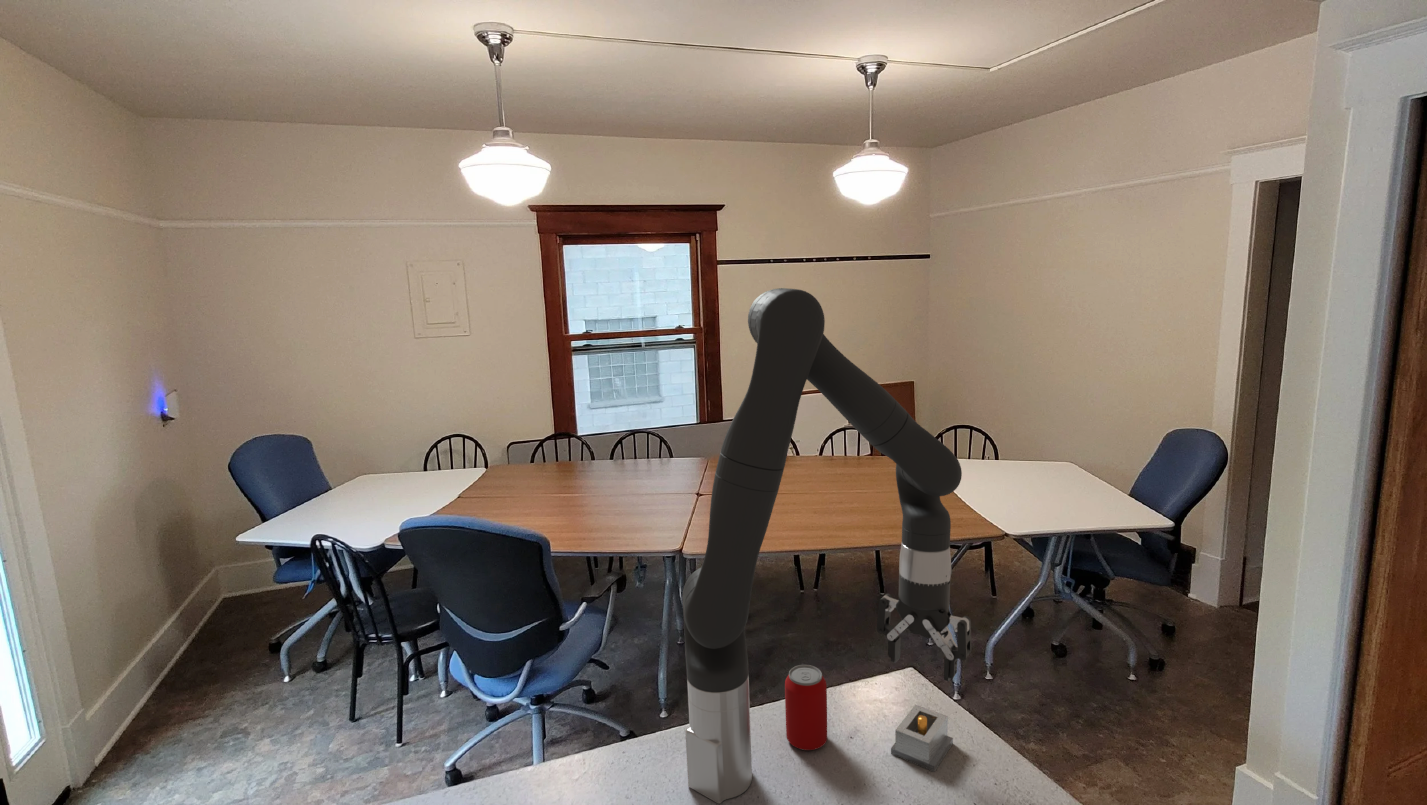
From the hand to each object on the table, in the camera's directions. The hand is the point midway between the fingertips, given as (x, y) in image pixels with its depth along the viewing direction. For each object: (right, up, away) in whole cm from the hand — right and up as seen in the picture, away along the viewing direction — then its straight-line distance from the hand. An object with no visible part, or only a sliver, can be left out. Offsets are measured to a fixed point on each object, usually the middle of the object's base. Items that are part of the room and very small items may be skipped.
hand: (921, 669), depth 105 cm
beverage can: (-17, -14, +5) cm, 23 cm away
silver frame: (+1, -13, +2) cm, 13 cm away
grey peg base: (+1, -14, +2) cm, 14 cm away
